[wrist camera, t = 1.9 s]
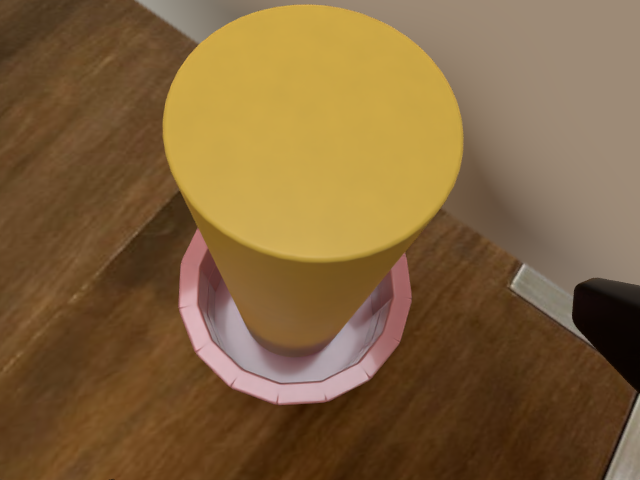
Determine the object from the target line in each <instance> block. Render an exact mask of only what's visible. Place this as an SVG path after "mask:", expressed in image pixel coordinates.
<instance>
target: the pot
mask: <svg viewBox="0 0 640 480" xmlns="http://www.w3.org/2000/svg"><path fill="white" fill-rule="evenodd" d="M405 256H406V255H405V253H404V254H403V255H402V256H401V258H400V259H399V260H398V261H397V262H396V264H395V265H394V266H393V267H392V269H391V270H390V271H389V272H388V273H387V275H386V276H385V277H384V278H383V280H382V281H381V282H380V283H379V284H378V286H377V287H376V288H375V289H374V291H373V292H372V293H371V294H370V295H369V297H368V298H367V299H366V300H365V301H364V303H363V304H362V305H361V306H360V308H359V309H358V310H357V311H356V312H355V314H354V315H353V316H352V317H351V319H350V320H349V321H348V322H347V323H346V325H345V326H344V327H343V328H342V330H341V331H340V332H339V333H338V334H337V336H336V337H335V338H334V339H333V340H332V341H331V342H330V343H329V344H328V345H327V346H326V347H324V348H323V349H321V350H320V351H318V352H316V353H313V354H311V355H307V356H303V357H285V356H280V355H277V354H274V353H272V352H270V351H268V350H266V349H265V348H263V347H262V346H261V345H260V344H258V343H257V342H256V341H255V339H254V338H253V337H252V336H251V334H250V333H249V331H248V329H247V327H246V325H245V323H244V321H243V319H242V317H241V315H240V313H239V311H238V309H237V307H236V305H235V303H234V300H233V298H232V296H231V294H230V292H229V290H228V288H227V286H226V284H225V282H224V280H223V278H222V276H221V274H220V272H219V270H218V268H217V266H216V263H215V261H214V259H213V257H212V255H211V253H210V251H209V249H208V247H207V245H206V243H205V241H204V239H203V237H202V235H201V233H200V231H199V228H198V229H197V231H196V233H195V235H194V237H193V239H192V241H191V243H190V245H189V247H188V249H187V251H186V253H185V255H184V257H183V259H182V261H181V263H182V264H181V265H180V284H179V303H178V307H179V312H180V315H181V318H182V320H183V323H184V325H185V328H186V331H187V333H188V336H189V338H190V341H191V344H192V346H193V349H194V351H195V352H196V354H197V356H198V357H199V358H200V359H201V360H202V361H203V362H204V363H205V364H206V365H207V366H208V367H209V368H210V369H211V370H212V371H213V372H214V373H215V374H217V375H218V376H219V377H220V378H221V379H222V380H223V381H224V382H225V383H226V384H227V385H228V386H229V387H231V388H232V389H234V390H237V391H240V392H242V393H245V394H248V395H250V396H253V397H256V398H258V399H261V400H264V401H266V402H269V403H272V404H274V405H275V404H278V405H293V404H309V403H325V402H329V401H331V400H333V399H335V398H336V397H338V396H340V395H342V394H344V393H346V392H348V391H350V390H352V389H354V388H356V387H358V386H360V385H362V384H364V383H365V382H367V381H369V380H370V379H371V378H372V377H373V376H374V375H375V374H376V372H377V371H378V370H379V369H380V367H381V366H382V365H383V364H384V362H385V361H386V360H387V359H388V358H389V356H390V355H391V354H392V353H393V351H394V350H395V349H396V348H397V346H398V345H399V342H400V341H401V338H402V334H403V331H404V327H405V323H406V320H407V316H408V313H409V309H410V305H411V299H412V295H411V287H410V279H409V272H408V264H407V258H406V257H405Z"/></svg>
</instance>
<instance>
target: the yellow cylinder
mask: <svg viewBox="0 0 640 480" xmlns="http://www.w3.org/2000/svg"><path fill="white" fill-rule="evenodd" d="M163 142H164V148H165V154H166V158H167V161H168V164H169V167H170V170H171V173H172V175H173V177H174V179H175V181H176V183H177V185H178V187H179V189H180V191H181V194H182V196H183V198H184V200H185V202H186V204H187V206H188V208H189V210H190V212H191V214H192V216H193V218H194V220H195V222H196V224H197V226H198V228H199V231H200V233H201V235H202V237H203V239H204V241H205V243H206V245H207V247H208V249H209V251H210V253H211V255H212V257H213V259H214V261H215V263H216V266H217V268H218V270H219V272H220V274H221V276H222V278H223V280H224V282H225V284H226V286H227V288H228V290H229V292H230V294H231V296H232V298H233V300H234V303H235V305H236V307H237V309H238V311H239V313H240V315H241V317H242V319H243V321H244V323H245V325H246V327H247V329H248V331H249V333H250V334H251V336H252V337H253V338H254V339H255V341H256V342H257V343H258V344H260V345H261V346H262V347H263V348H265V349H266V350H268V351H270V352H272V353H274V354H277V355H280V356H285V357H303V356H307V355H311V354H313V353H316V352H318V351H320V350H321V349H323V348H324V347H326V346H327V345H328V344H329V343H330V342H331V341H332V340H333V339H334V338H335V337H336V336H337V334H338V333H339V332H340V331H341V330H342V328H343V327H344V326H345V325H346V323H347V322H348V321H349V320H350V319H351V317H352V316H353V315H354V314H355V312H356V311H357V310H358V309H359V308H360V306H361V305H362V304H363V303H364V301H365V300H366V299H367V298H368V297H369V295H370V294H371V293H372V292H373V291H374V289H375V288H376V287H377V286H378V284H379V283H380V282H381V281H382V280H383V278H384V277H385V276H386V275H387V273H388V272H389V271H390V270H391V269H392V267H393V266H394V265H395V264H396V262H397V261H398V260H399V259H400V258H401V256H402V255H403V254H404V253H405V252H406V250H407V249H408V248H409V247H410V245H411V244H412V243H413V242H414V241H415V239H416V238H417V237H418V236H419V234H420V233H421V232H422V231H423V230H424V228H425V227H426V226H427V225H428V223H429V222H430V221H431V220H432V219H433V217H434V216H435V215H436V214H437V212H438V211H439V210H440V208H441V207H442V206H443V204H444V203H445V201H446V200H447V198H448V196H449V194H450V192H451V190H452V189H453V187H454V185H455V182H456V179H457V176H458V173H459V170H460V166H461V161H462V155H463V128H462V119H461V115H460V111H459V107H458V104H457V101H456V99H455V96H454V94H453V92H452V89H451V87H450V85H449V83H448V82H447V80H446V78H445V76H444V75H443V73H442V72H441V70H440V69H439V68H438V67H437V66H436V64H435V63H434V61H433V60H432V59H431V58H430V57H429V56H428V55H427V54H426V53H425V52H424V51H423V50H422V49H421V48H420V47H419V46H418V45H417V44H415V43H414V42H413V41H412V40H410V39H409V38H408V37H406V36H405V35H404V34H402V33H401V32H399V31H397V30H396V29H394V28H393V27H391V26H389V25H387V24H385V23H383V22H381V21H379V20H377V19H374V18H372V17H369V16H367V15H364V14H361V13H358V12H354V11H351V10H347V9H343V8H337V7H331V6H323V5H310V4H309V5H289V6H280V7H274V8H269V9H265V10H261V11H258V12H254V13H252V14H249V15H246V16H243V17H241V18H239V19H237V20H235V21H232V22H230V23H228V24H226V25H225V26H223V27H222V28H220V29H219V30H217V31H216V32H214V33H212V34H211V35H210V36H209V37H207V38H206V39H205V40H204V41H203V42H201V43H200V44H199V45H198V46H197V47H196V48H195V50H194V51H193V52H192V53H191V54H190V55H189V56H188V57H187V59H186V60H185V62H184V63H183V65H182V66H181V67H180V69H179V70H178V72H177V74H176V76H175V78H174V80H173V82H172V84H171V87H170V90H169V93H168V97H167V100H166V103H165V109H164V115H163Z"/></svg>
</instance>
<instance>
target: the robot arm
mask: <svg viewBox="0 0 640 480" xmlns="http://www.w3.org/2000/svg"><path fill="white" fill-rule="evenodd" d="M572 319H573V322H574V324H575V326H576V327H577V329H578V330H579V331H580V332H581V333H582V334H583V335H584V336H585V337H586V338H587V339H588V341H589V342H590V343H591V344H592V345H593V346H594V347H595V348H596V349H597V350H598V351H599V352H600V353H601V354H602V355H603V356H604V357H605V358H606V360H607V361H608V362H609V363H610V364H611V365H612V366H613V367H614V368H615V369H616V370H617V371H618V372H619V373H620V374H621V375H622V376H623V378H624V379H625V380H626V381H627V382H628V383H629V384H630V385H631V386H632V387H633V388H634V389H635V390H636V391H638V392H639V393H640V286H639V285H634V284H628V283H623V282H618V281H613V280H607V279H602V278H592V279H589V280H587V281H584V282H582V283H580V284H578V285H577V286H576V287H575V289H574V297H573V310H572ZM111 480H114V479H111Z"/></svg>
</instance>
